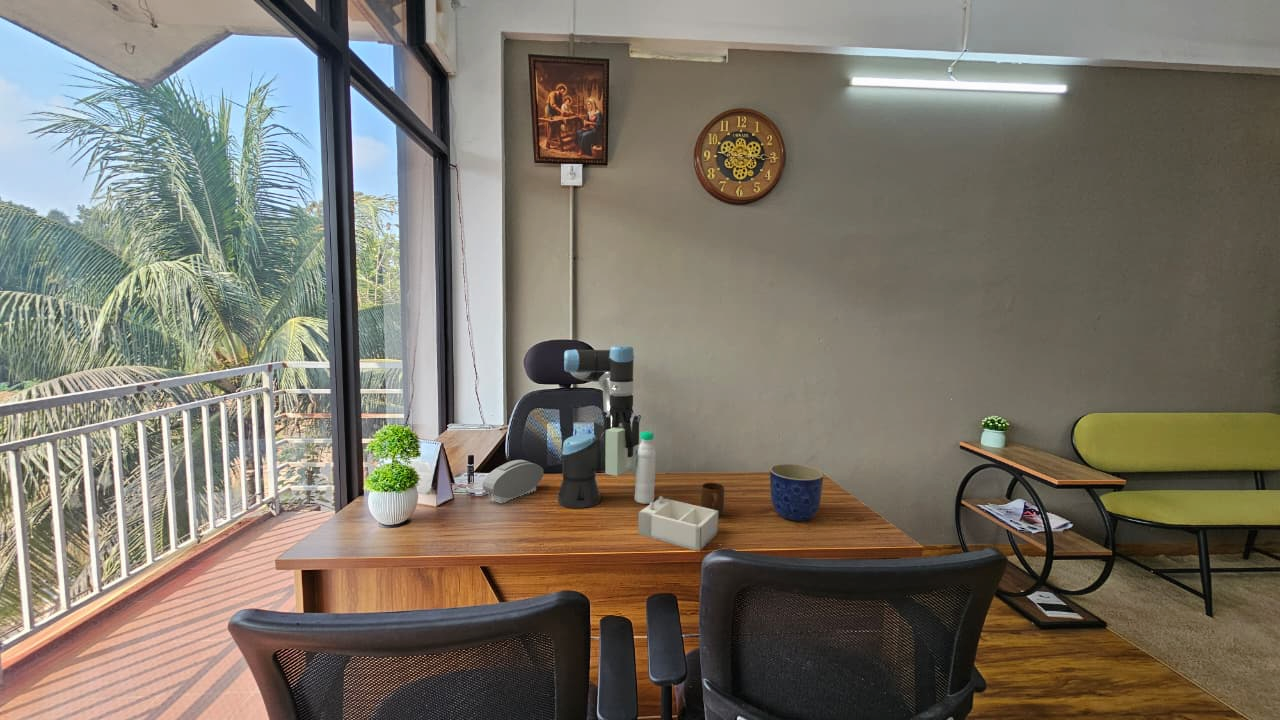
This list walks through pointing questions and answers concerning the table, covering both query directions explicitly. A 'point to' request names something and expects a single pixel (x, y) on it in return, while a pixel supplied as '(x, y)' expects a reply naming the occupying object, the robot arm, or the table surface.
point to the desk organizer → (678, 523)
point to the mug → (713, 497)
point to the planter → (795, 490)
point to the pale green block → (617, 452)
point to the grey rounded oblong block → (512, 480)
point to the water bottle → (645, 469)
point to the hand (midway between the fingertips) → (620, 464)
